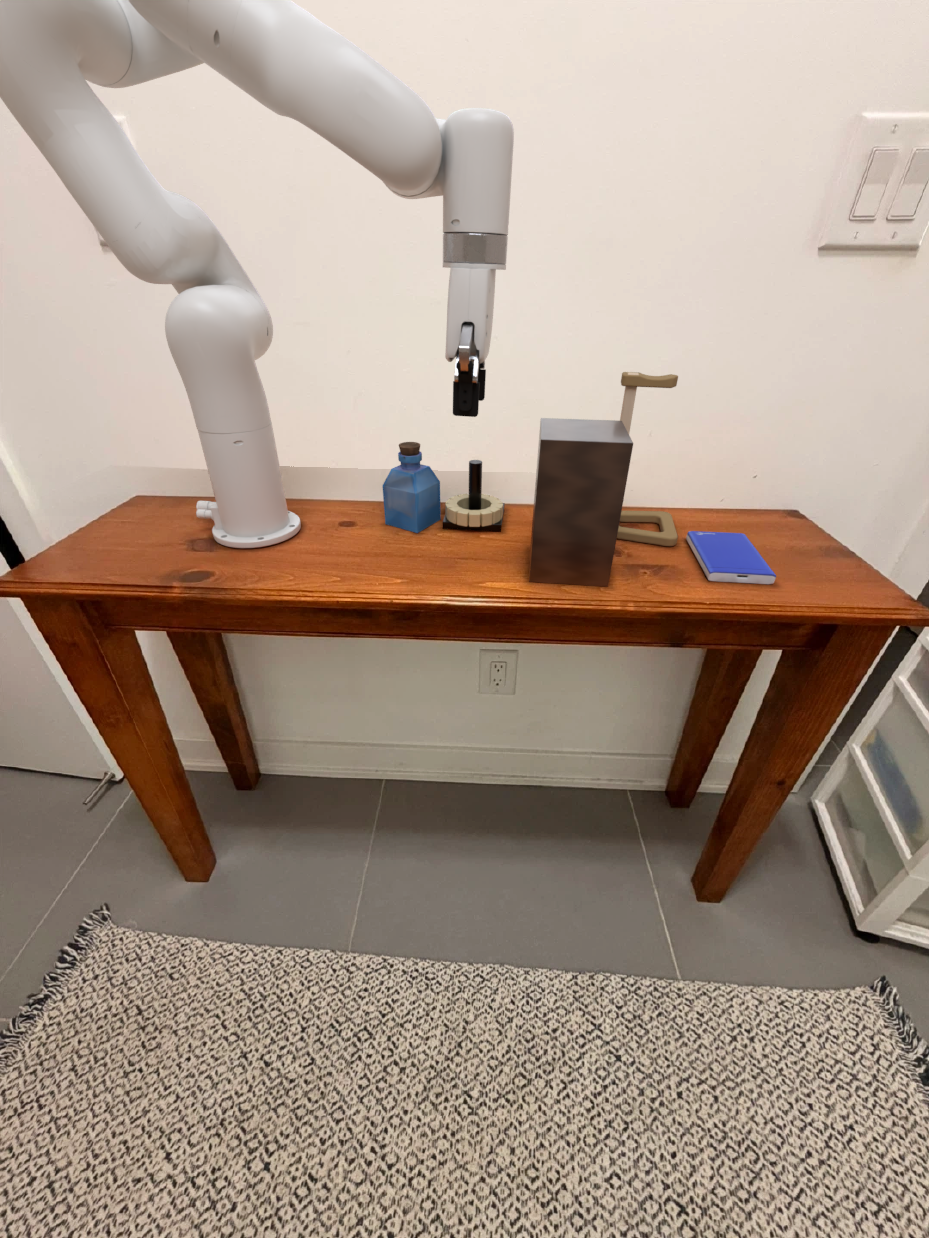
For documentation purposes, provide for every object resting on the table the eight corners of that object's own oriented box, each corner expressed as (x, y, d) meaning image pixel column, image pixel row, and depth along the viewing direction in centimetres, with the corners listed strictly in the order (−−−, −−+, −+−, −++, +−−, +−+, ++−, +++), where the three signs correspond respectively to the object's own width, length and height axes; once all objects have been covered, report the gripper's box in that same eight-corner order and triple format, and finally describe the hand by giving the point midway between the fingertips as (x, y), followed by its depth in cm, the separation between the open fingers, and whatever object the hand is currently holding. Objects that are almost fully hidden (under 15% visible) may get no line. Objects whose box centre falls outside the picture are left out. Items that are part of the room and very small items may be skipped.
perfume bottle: (440, 519, 86) (439, 443, 80) (417, 533, 82) (413, 453, 75) (409, 511, 89) (405, 436, 82) (385, 524, 85) (379, 446, 78)
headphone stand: (677, 547, 78) (717, 384, 66) (599, 541, 80) (624, 380, 68) (669, 519, 87) (703, 370, 75) (599, 514, 88) (621, 367, 76)
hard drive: (687, 530, 79) (710, 570, 69) (745, 533, 79) (777, 574, 68) (685, 540, 80) (707, 581, 70) (742, 542, 80) (773, 585, 69)
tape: (439, 524, 82) (439, 511, 81) (453, 502, 89) (453, 491, 88) (496, 529, 80) (497, 517, 79) (506, 507, 87) (507, 495, 86)
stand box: (528, 582, 70) (540, 439, 60) (530, 548, 78) (540, 417, 68) (608, 587, 69) (633, 443, 59) (601, 551, 77) (622, 420, 67)
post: (442, 529, 83) (441, 470, 78) (450, 507, 91) (450, 451, 86) (501, 532, 82) (503, 472, 77) (504, 509, 90) (507, 454, 85)
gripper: (452, 254, 71) (450, 393, 80) (430, 251, 57) (431, 421, 66) (509, 256, 70) (500, 396, 80) (502, 254, 56) (492, 425, 65)
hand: (469, 407), depth 73 cm, fingers open, 9 cm apart
